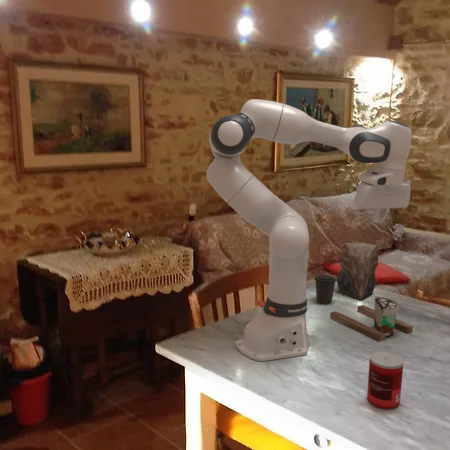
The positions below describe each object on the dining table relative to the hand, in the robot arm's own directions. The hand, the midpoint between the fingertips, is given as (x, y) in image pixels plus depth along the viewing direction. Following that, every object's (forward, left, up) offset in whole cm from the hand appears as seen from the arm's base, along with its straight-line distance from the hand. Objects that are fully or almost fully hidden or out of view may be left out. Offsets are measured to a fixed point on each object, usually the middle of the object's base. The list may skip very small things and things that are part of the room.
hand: (378, 222), depth 157 cm
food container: (+5, -2, -36) cm, 37 cm away
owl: (+22, +29, -36) cm, 52 cm away
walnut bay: (+5, +5, -36) cm, 37 cm away
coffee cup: (+6, +29, -36) cm, 47 cm away
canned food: (-27, -31, -36) cm, 54 cm away
